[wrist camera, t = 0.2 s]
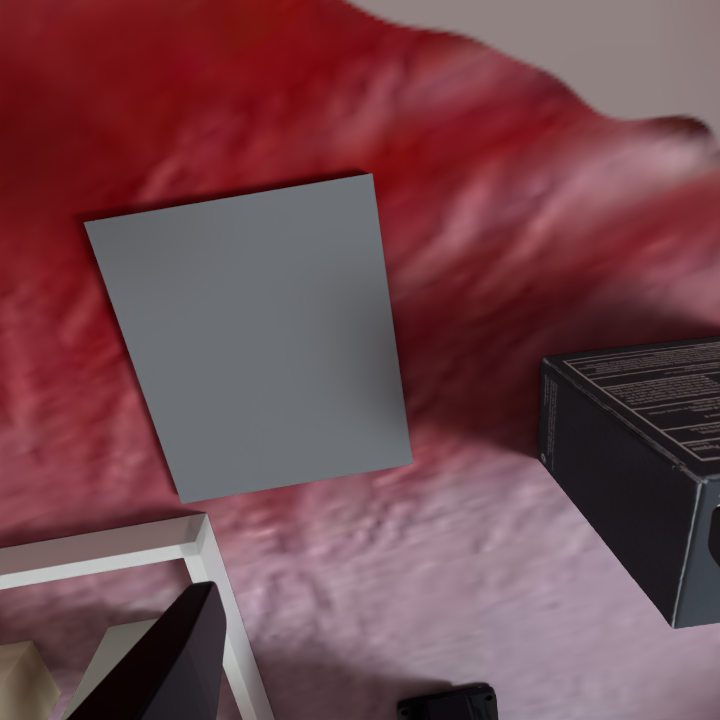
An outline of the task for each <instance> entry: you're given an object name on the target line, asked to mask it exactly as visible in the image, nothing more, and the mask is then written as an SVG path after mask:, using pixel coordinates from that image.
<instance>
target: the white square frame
mask: <svg viewBox="0 0 720 720" xmlns="http://www.w3.org/2000/svg"><path fill="white" fill-rule="evenodd" d="M178 558H184V560H185V563H186V565H187V568H188V571H189V574H190V576H191V579H192V582H193V583H198V582H205V581H214V582H215V583H216V584H217V587H218V590H219V593H220V596H221V600H222V603H223V607H224V610H225V613H226V619H227V630H226V639H225V647H224V656H223V667H224V670H225V672H226V675H227V678H228V681H229V683H230V686H231V689H232V692H233V694H234V697H235V700H236V703H237V705H238V708H239V711H240V714H241V716H242V719H243V720H275V719H274V716H273V713H272V710H271V707H270V704H269V701H268V698H267V695H266V692H265V689H264V686H263V683H262V680H261V677H260V674H259V671H258V668H257V664H256V661H255V658H254V655H253V652H252V649H251V646H250V643H249V640H248V637H247V634H246V631H245V628H244V625H243V622H242V619H241V616H240V613H239V610H238V607H237V604H236V601H235V598H234V595H233V592H232V589H231V586H230V583H229V579H228V576H227V573H226V570H225V567H224V564H223V561H222V558H221V555H220V552H219V549H218V546H217V543H216V540H215V537H214V534H213V531H212V528H211V525H210V522H209V519H208V516H207V513H203V514H197V515H192V516H186V517H180V518H174V519H169V520H163V521H157V522H151V523H145V524H140V525H134V526H128V527H122V528H116V529H111V530H105V531H99V532H93V533H88V534H82V535H76V536H70V537H64V538H59V539H53V540H47V541H41V542H36V543H30V544H24V545H18V546H12V547H7V548H1V549H0V589H5V588H11V587H17V586H22V585H28V584H34V583H40V582H46V581H51V580H57V579H63V578H69V577H74V576H80V575H86V574H92V573H97V572H103V571H109V570H115V569H120V568H126V567H132V566H138V565H144V564H149V563H155V562H161V561H167V560H172V559H178Z"/></svg>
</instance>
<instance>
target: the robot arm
mask: <svg viewBox="0 0 720 720" xmlns="http://www.w3.org/2000/svg"><path fill="white" fill-rule="evenodd" d="M707 544H708V549H709V552H710V554H711V556H712V558H713V560H714V561H715V562H716V564H717V565H718V566H719V568H720V506H718V507H716V508H715V509H714V510H713V511H712V515H711V521H710V528H709V534H708V542H707ZM226 630H227V619H226V613H225V610H224V607H223V603H222V600H221V596H220V593H219V590H218V587H217V584H216V583H215V582H214V581H205V582H198V583H193V584H191V585H189V586H188V587H187V588H186V589H185V590H184V592H183V593H182V594H181V595H180V596H179V597H178V598H177V599H176V600H175V601H174V602H173V603H172V605H171V606H170V607H169V608H168V609H167V610H166V611H165V612H164V613H163V614H162V615H161V617H160V618H159V619H158V620H157V621H156V622H155V623H154V624H153V625H152V626H151V627H150V629H149V630H148V631H147V632H146V633H145V634H144V635H143V636H142V637H141V638H140V639H139V640H138V642H137V643H136V644H135V645H134V646H133V647H132V648H131V649H130V650H129V651H128V652H127V654H126V655H125V656H124V657H123V658H122V659H121V660H120V661H119V662H118V663H117V664H116V666H115V667H114V668H113V669H112V670H111V671H110V672H109V673H108V674H107V675H106V676H105V677H104V679H103V680H102V681H101V682H100V683H99V684H98V685H97V686H96V687H95V688H94V689H93V691H92V692H91V693H90V694H89V695H88V696H87V697H86V698H85V699H84V700H83V701H82V703H81V704H80V705H79V706H78V707H77V708H76V709H75V710H74V711H73V712H72V713H71V714H70V716H69V717H68V718H67V719H66V720H216V715H217V707H218V699H219V690H220V682H221V673H222V664H223V656H224V647H225V639H226ZM396 709H397V716H398V720H498V710H497V699H496V694H495V691H494V689H493V688H492V687H489V686H487V687H481V688H475V689H469V690H463V691H458V692H452V693H446V694H441V695H435V696H429V697H423V698H418V699H412V700H406V701H402V702H399V703H398V704H397V706H396Z"/></svg>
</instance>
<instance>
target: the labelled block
mask: <svg viewBox="0 0 720 720" xmlns="http://www.w3.org/2000/svg"><path fill="white" fill-rule="evenodd" d="M60 695H61V692H60V690H59V688H58V687H57V685H56V683H55V681H54V679H53V677H52V676H51V674H50V672H49V670H48V668H47V666H46V665H45V663H44V661H43V659H42V657H41V655H40V654H39V652H38V650H37V648H36V646H35V644H34V643H33V641H32V640H30V641H25V642H19V643H13V644H7V645H2V646H0V720H47V719H48V717H49V715H50V713H51V711H52V710H53V708H54V706H55V704H56V702H57V700H58V699H59V697H60Z"/></svg>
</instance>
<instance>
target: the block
mask: <svg viewBox="0 0 720 720" xmlns="http://www.w3.org/2000/svg"><path fill="white" fill-rule="evenodd" d="M158 619H159V618H157V619H151V620H145V621H140V622H134V623H128V624H122V625H117V626H111V627H109V628H108V629H107V631H106V633H105V635H104V637H103V639H102V641H101V643H100V645H99V647H98V649H97V651H96V653H95V655H94V656H93V658H92V660H91V662H90V664H89V666H88V668H87V670H86V672H85V674H84V676H83V678H82V680H81V682H80V684H79V685H78V687H77V689H76V691H75V693H74V695H73V697H72V699H71V701H70V703H69V705H68V707H67V709H66V711H65V713H64V714H63V716H62V718H61V720H66V719H67V718H68V717H69V716H70V714H71V713H72V712H73V711H74V710H75V709H76V708H77V707H78V706H79V705H80V704H81V703H82V701H83V700H84V699H85V698H86V697H87V696H88V695H89V694H90V693H91V692H92V691H93V689H94V688H95V687H96V686H97V685H98V684H99V683H100V682H101V681H102V680H103V679H104V677H105V676H106V675H107V674H108V673H109V672H110V671H111V670H112V669H113V668H114V667H115V666H116V664H117V663H118V662H119V661H120V660H121V659H122V658H123V657H124V656H125V655H126V654H127V652H128V651H129V650H130V649H131V648H132V647H133V646H134V645H135V644H136V643H137V642H138V640H139V639H140V638H141V637H142V636H143V635H144V634H145V633H146V632H147V631H148V630H149V629H150V627H151V626H152V625H153V624H154V623H155V622H156V621H157V620H158Z"/></svg>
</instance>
